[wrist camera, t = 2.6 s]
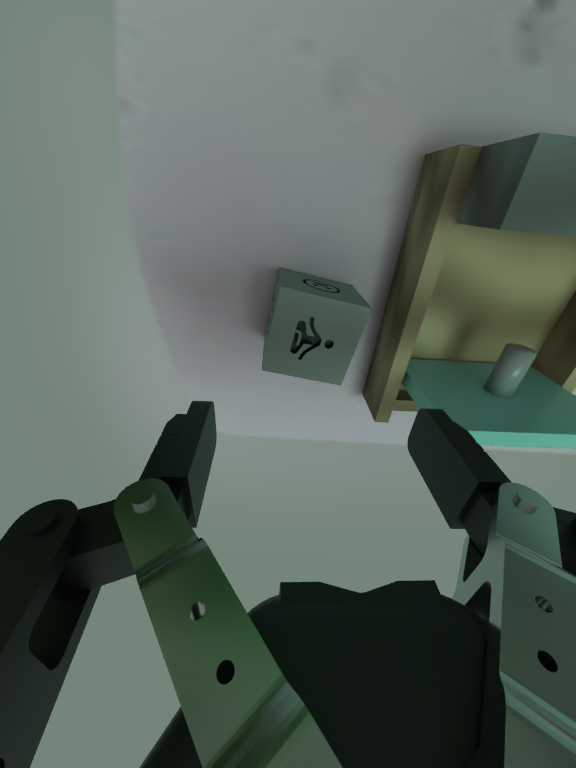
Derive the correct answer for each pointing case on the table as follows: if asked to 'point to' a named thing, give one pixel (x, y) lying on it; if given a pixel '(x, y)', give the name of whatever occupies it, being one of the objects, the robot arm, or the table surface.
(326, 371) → the dice cube
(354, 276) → the table surface
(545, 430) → the bar
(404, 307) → the pusher lane
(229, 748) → the robot arm
